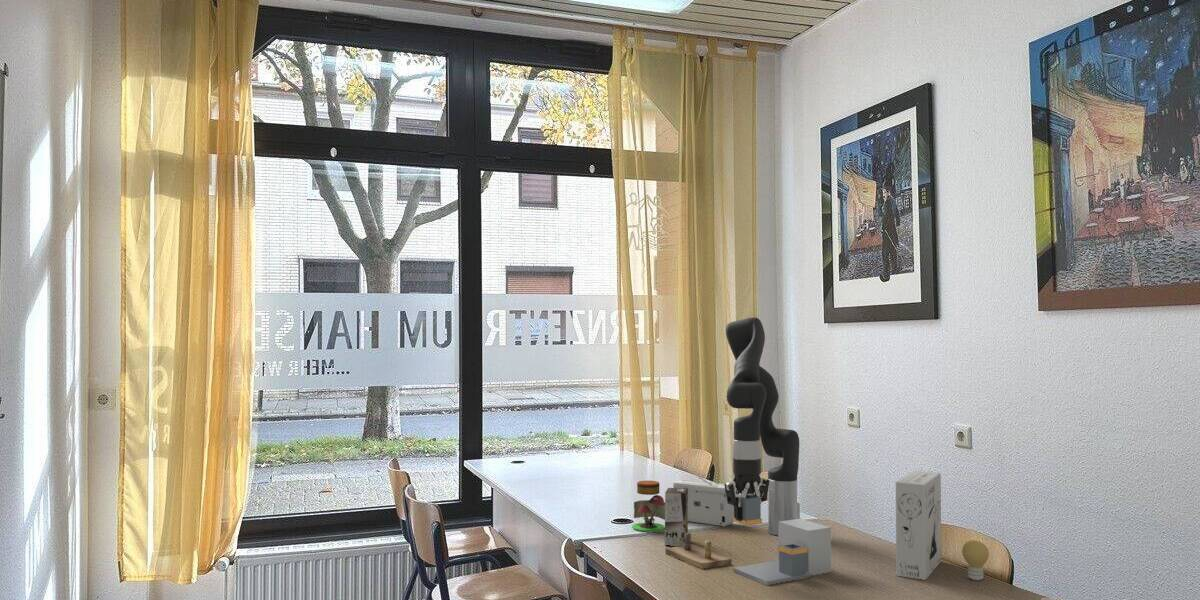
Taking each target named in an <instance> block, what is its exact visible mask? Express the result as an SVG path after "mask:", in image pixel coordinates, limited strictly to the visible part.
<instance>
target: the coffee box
mask: <svg viewBox="0 0 1200 600" xmlns="http://www.w3.org/2000/svg"><path fill="white" fill-rule="evenodd" d="M664 493H665V494H664V497H665V498H664V502H665V520H664V546H666V545H670V546H669V547H679V546H684V534H685V533H689V523H688V522H689V521H688V488H674V487H667V489H666V491H665V492H664Z"/></svg>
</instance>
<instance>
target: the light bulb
mask: <svg viewBox="0 0 1200 600" xmlns="http://www.w3.org/2000/svg"><path fill="white" fill-rule="evenodd" d="M961 552H962V556H963V559H964V560H965V562H966V563H967V565H968V566H967V573H968V574H967V577H968V579H970V580H973V581H982V580H983V579H984V567H983V566H984V565H985V564H986V563H987V561H988V559H989V556H990V552H989V549H988V547H987V546H986V544H985V543H983V542H981V541H979V540H968V541H966V542H965V543H964V544H963V546H962V549H961Z"/></svg>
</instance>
